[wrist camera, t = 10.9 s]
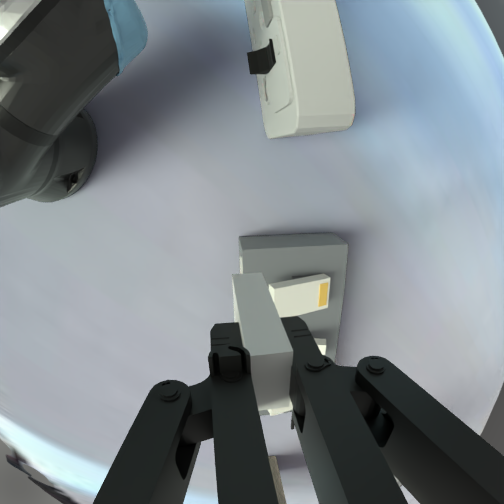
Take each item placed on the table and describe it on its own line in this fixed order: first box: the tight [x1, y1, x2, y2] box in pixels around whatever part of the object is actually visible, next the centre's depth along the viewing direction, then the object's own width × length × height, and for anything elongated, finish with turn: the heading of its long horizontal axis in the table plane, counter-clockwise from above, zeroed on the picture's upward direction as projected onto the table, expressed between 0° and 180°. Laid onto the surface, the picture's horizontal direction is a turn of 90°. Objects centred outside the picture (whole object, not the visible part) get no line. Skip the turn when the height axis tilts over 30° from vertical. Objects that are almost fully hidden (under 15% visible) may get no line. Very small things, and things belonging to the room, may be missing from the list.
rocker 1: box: [268, 399, 293, 416], centre depth 45 cm, size 8×4×2 cm, turn 91°
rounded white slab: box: [244, 0, 355, 139], centre depth 27 cm, size 29×8×18 cm, turn 8°
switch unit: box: [239, 233, 348, 416], centre depth 46 cm, size 15×30×7 cm, turn 1°
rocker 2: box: [269, 273, 330, 318], centre depth 39 cm, size 8×4×2 cm, turn 91°
